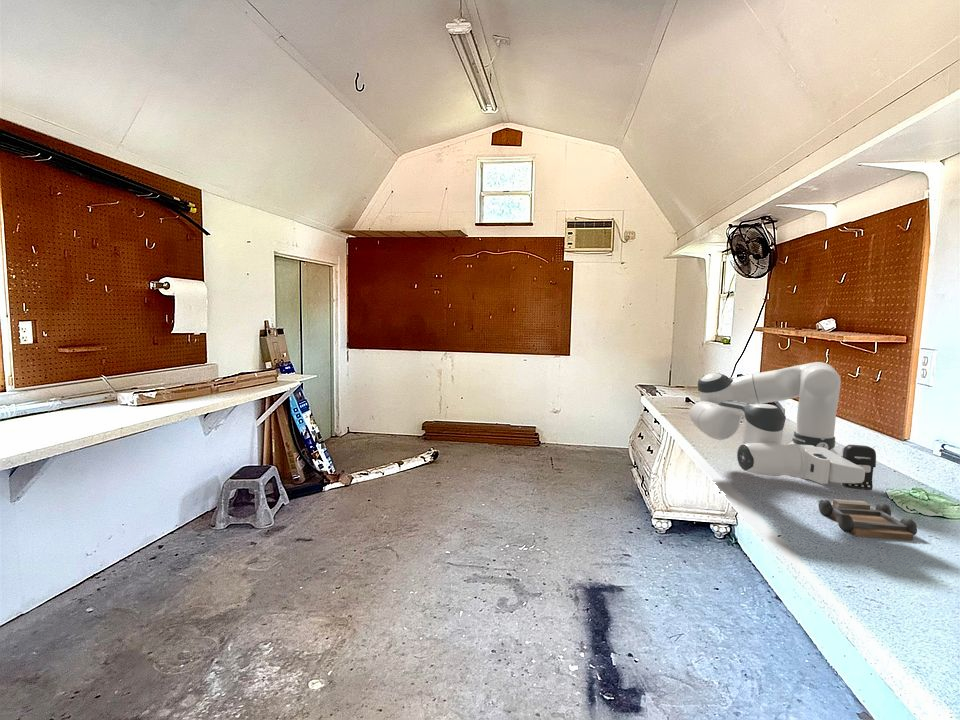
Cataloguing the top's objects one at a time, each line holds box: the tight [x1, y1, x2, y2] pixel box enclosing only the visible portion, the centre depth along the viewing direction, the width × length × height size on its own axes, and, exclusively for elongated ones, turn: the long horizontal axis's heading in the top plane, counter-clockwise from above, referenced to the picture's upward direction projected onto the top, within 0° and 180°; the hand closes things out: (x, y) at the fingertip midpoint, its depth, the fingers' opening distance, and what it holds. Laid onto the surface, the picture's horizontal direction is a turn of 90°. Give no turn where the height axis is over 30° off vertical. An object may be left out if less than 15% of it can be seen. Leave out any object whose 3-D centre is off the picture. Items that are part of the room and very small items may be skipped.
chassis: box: [818, 498, 918, 541], centre depth 134 cm, size 17×16×4 cm
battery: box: [840, 443, 877, 491], centre depth 132 cm, size 7×4×11 cm, turn 74°
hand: (862, 465), depth 131 cm, fingers closed on battery, 4 cm apart
